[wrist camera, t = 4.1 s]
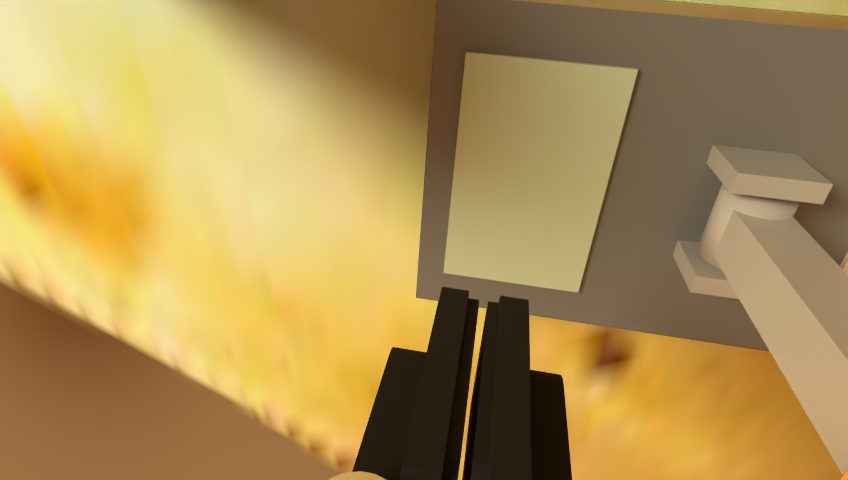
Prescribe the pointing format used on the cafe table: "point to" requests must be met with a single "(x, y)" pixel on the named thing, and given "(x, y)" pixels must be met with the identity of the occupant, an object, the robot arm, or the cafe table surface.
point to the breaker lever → (788, 303)
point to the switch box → (624, 153)
